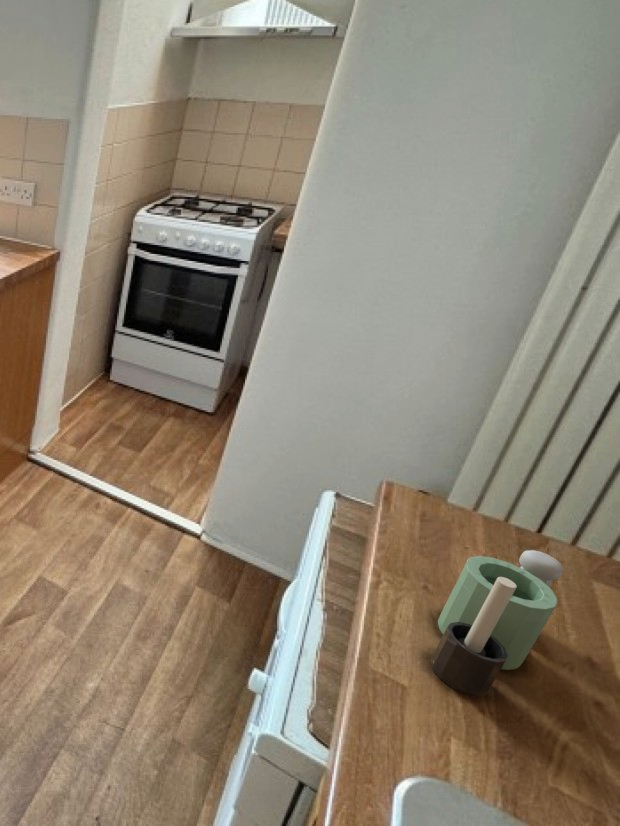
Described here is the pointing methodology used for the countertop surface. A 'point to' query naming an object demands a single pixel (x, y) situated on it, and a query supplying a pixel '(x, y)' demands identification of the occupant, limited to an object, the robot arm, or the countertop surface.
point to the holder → (467, 662)
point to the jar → (519, 615)
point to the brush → (489, 615)
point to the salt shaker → (541, 566)
